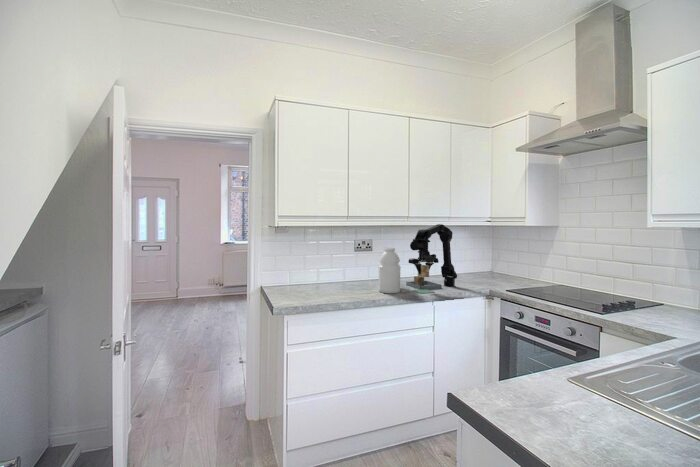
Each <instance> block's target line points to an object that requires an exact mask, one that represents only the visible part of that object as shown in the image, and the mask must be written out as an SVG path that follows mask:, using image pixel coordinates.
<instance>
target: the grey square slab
mask: <svg viewBox="0 0 700 467" xmlns="http://www.w3.org/2000/svg"><path fill="white" fill-rule="evenodd" d="M406 286H407V287H410V288H413V289H415V290H421V289H427V290H438V289H439V290H440V289H441V290H442V286H443V285H442V284H441V283H440V284H439V283H437V282H433V281H429V280H424V286H419V285H416V284H414V280H413V281H406Z"/></svg>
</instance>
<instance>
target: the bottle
mask: <svg viewBox="0 0 700 467" xmlns="http://www.w3.org/2000/svg"><path fill="white" fill-rule="evenodd" d="M383 250H384V252H383V253H381V255H380V257H379V260H378V261H379V263H380V264H379V265H378V291H379V293H383V294H398V293H400V292H401V266H400V264H399V263H400V262H401V259H400V257H399V254H397V253H396V252H395V251H396V248H395V247H384V249H383Z"/></svg>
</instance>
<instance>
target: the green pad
mask: <svg viewBox="0 0 700 467" xmlns="http://www.w3.org/2000/svg"><path fill="white" fill-rule="evenodd" d="M412 292H414V293H416V294H417V293H418V294H420V295H422V294H435V293H436V292H435V291H433V290H431V289H428V290H427V289H421V290H419V289H412Z"/></svg>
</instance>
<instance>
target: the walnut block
mask: <svg viewBox="0 0 700 467" xmlns="http://www.w3.org/2000/svg"><path fill="white" fill-rule="evenodd" d="M413 281H414V284H416V285H419V286H424V281H425V277H419V276H418V275H416V276H413Z"/></svg>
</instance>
